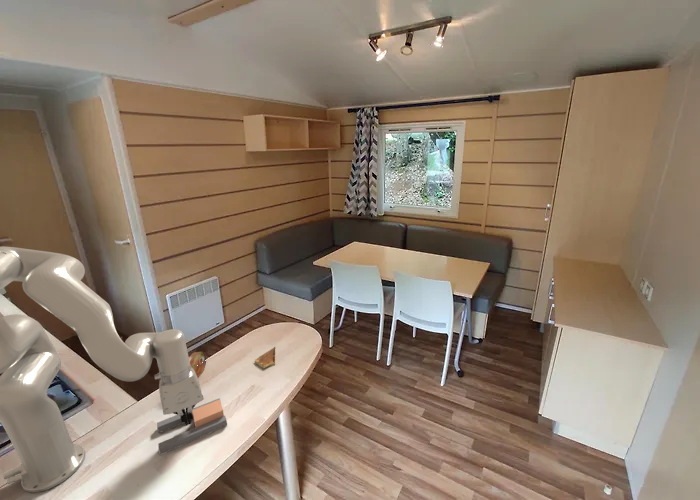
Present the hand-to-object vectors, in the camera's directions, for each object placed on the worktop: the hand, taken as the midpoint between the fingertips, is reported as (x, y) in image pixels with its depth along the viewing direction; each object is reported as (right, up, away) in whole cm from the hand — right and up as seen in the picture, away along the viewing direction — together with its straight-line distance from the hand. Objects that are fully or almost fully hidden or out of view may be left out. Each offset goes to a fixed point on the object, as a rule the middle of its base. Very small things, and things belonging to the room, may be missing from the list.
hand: (187, 421), depth 96 cm
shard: (+15, +7, +31) cm, 36 cm away
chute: (+1, -2, +1) cm, 3 cm away
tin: (-9, +4, +21) cm, 23 cm away
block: (+5, -2, +3) cm, 7 cm away
